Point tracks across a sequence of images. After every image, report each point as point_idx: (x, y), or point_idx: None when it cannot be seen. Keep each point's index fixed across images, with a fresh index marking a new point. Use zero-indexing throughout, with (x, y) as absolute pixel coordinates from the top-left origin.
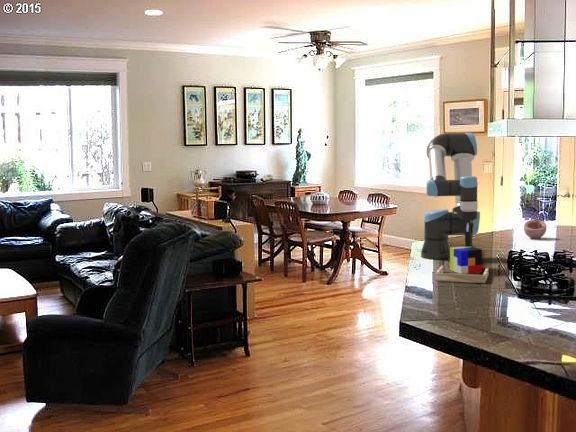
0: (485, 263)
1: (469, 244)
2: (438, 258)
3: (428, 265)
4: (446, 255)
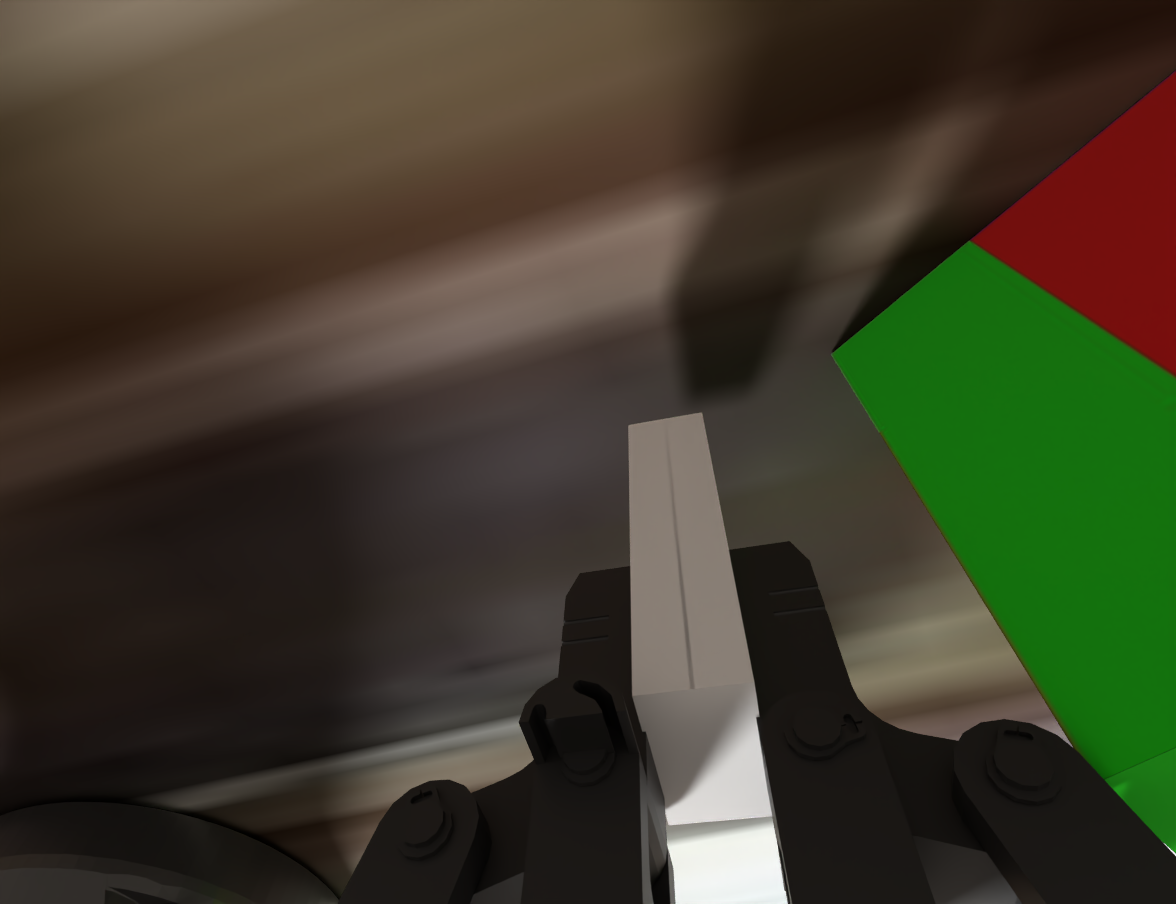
0: (155, 227)
1: (1160, 887)
2: (309, 875)
3: (776, 856)
4: (189, 861)
